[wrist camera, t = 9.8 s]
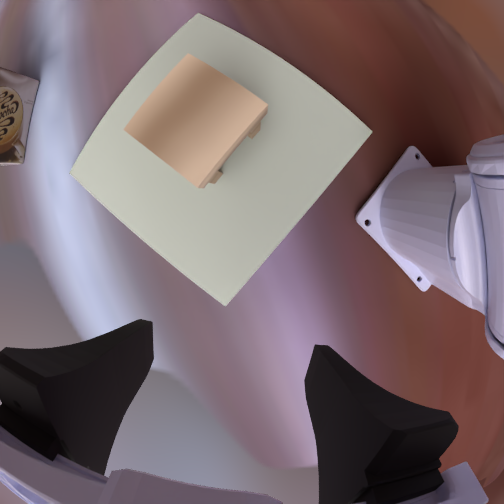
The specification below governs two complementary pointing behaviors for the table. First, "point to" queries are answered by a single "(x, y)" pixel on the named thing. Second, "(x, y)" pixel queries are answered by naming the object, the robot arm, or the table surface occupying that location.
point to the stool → (197, 120)
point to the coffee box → (15, 114)
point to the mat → (234, 169)
